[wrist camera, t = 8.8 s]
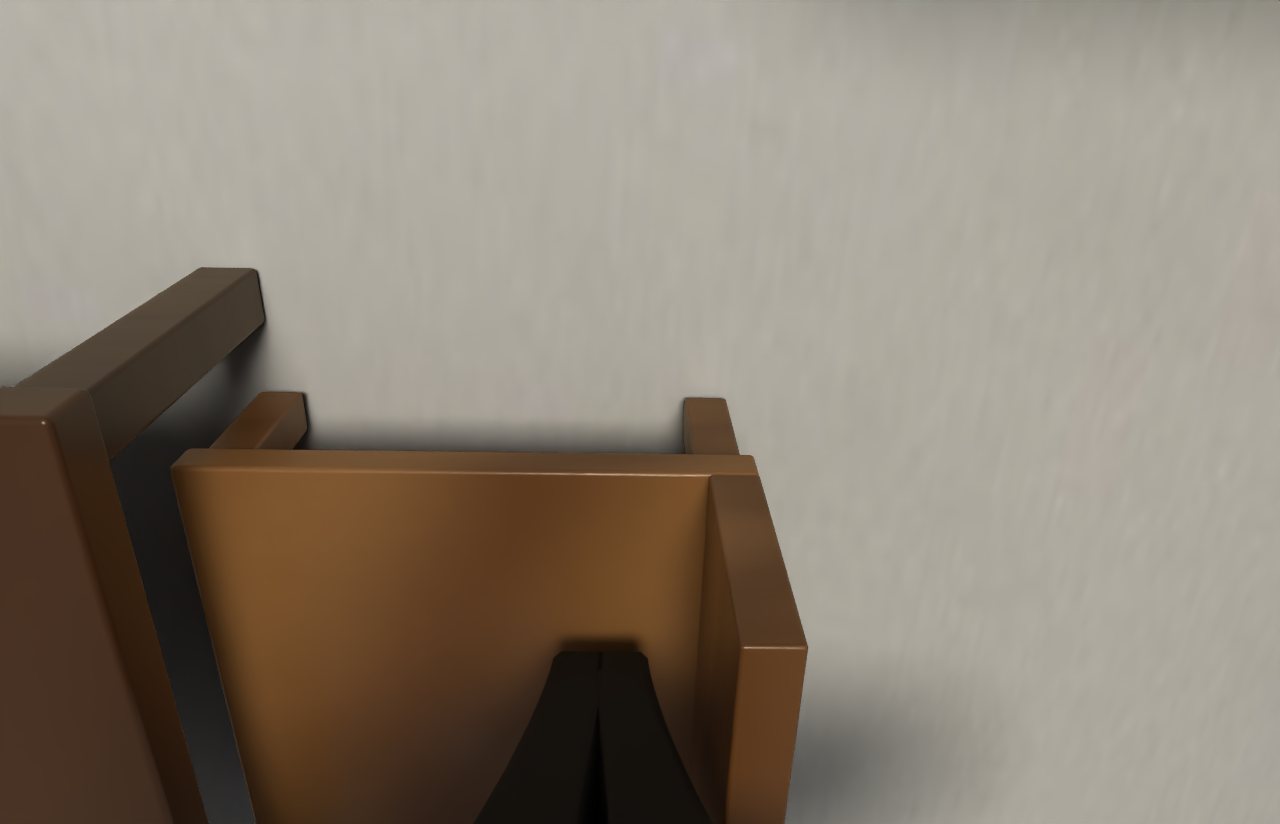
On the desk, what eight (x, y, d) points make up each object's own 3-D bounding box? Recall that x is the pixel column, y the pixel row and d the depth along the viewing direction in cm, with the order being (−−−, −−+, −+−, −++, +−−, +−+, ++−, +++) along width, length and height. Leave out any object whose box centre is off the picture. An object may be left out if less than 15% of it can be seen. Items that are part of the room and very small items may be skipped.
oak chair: (735, 388, 14) (809, 646, 9) (711, 707, 17) (754, 1054, 12) (248, 382, 14) (-3, 641, 8) (309, 705, 17) (153, 1057, 12)
